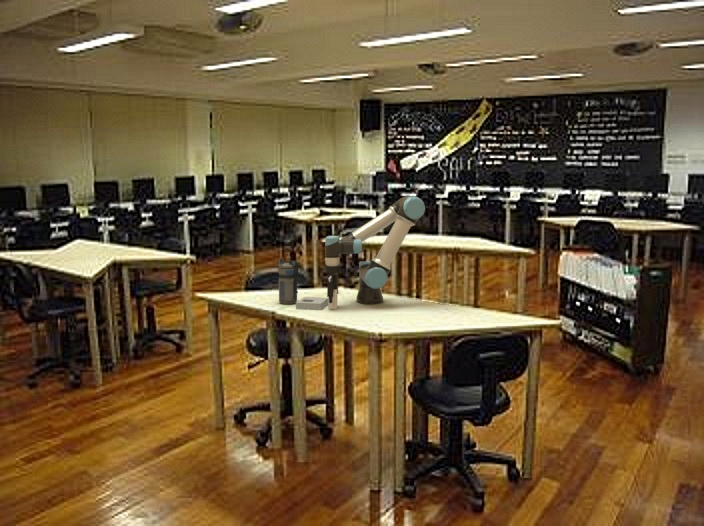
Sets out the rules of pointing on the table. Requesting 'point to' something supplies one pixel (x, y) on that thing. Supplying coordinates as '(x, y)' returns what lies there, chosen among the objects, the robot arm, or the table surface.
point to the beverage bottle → (288, 281)
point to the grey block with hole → (312, 303)
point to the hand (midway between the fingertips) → (332, 307)
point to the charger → (334, 299)
